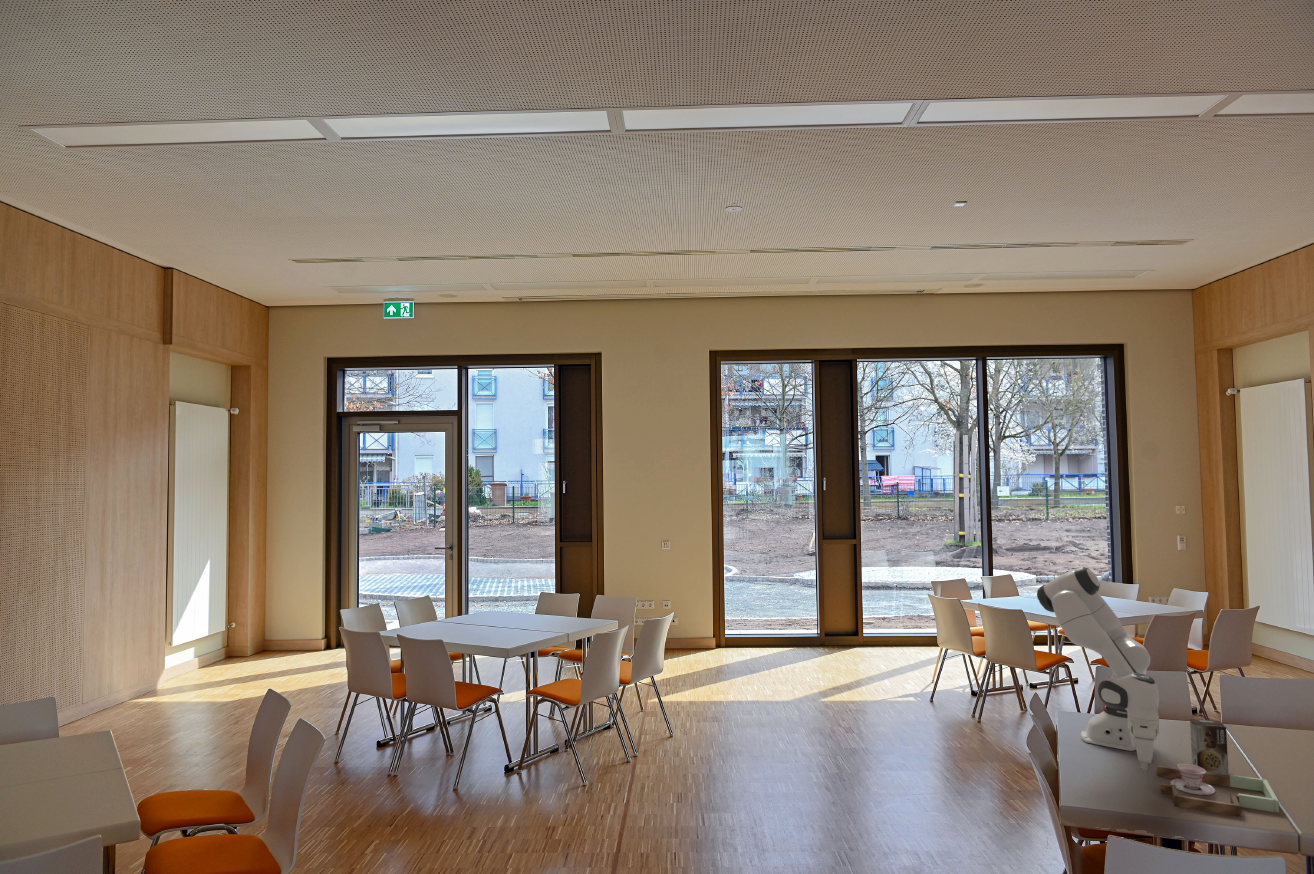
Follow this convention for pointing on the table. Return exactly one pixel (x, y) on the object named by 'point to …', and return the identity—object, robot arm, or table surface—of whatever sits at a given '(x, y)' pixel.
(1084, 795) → the table surface
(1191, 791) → the teacup
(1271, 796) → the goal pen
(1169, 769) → the channel
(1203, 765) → the coffee box
